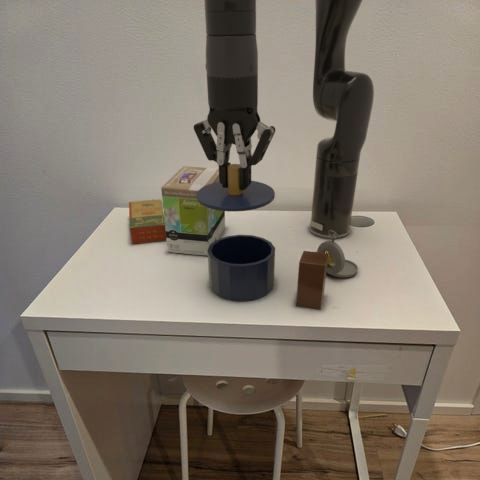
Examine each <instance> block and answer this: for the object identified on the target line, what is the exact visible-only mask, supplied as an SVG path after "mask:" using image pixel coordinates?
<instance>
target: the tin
mask: <svg viewBox="0 0 480 480" xmlns="http://www.w3.org/2000/svg"><path fill="white" fill-rule="evenodd" d="M207 252H208V256H207V265H208V266H207V267H208V279H209V285H210V290H211V291H212V293H214V294H215V295H216V296H217V297H219V298H221V299H224V300H227V301H233V302H251V301H255V300H256V301H257V300H259V299H261V298H263V297H266V296H267V295H268V294H270V293H271V292H272V291H273V289H274V286H275V285H274V284H275V268H276V247H275V245H274V244H273V243H272V242H271V241H270V240H268V239H266V238H264V237H261V236H256V235H253V234H252V235H251V234H234V235H228V236H227V235H226V236H224V237H221V238H219V239H218V240H216V241H215V242H213V243H212V244H210V246H209V248H208V251H207Z"/></svg>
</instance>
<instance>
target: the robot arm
mask: <svg viewBox="0 0 480 480" xmlns="http://www.w3.org/2000/svg"><path fill="white" fill-rule="evenodd" d="M362 2H363V0H315V44H314V45H315V46H314V47H315V48H314V49H315V50H314V63H313V80H312V102H313V108H314V111H315V112H316V114H317V115H318V116H319V117H320V118H321V119H323V120H327V121H329V122H330V121H331V122H335V127H334V132H333V136H331V137H326V138H323V139H321V140H320V141H319V142H318V143H317V145H316V155H315V165H314V166H315V167H314V178H313V190H312V191H313V192H312V202H311V215H310V223H309V224H310V225H309V231H310V232H311V234H313V235H314V236H317V237H320V238H324V239H331V236H332V234H335V233H334V232H332V231H329V230H333V231H335V232H336V233H337V234H338V238H337V239H339V238H344V237H346V236H348V235H349V234H350V231H351V223H352V222H351V221H352V215H353V209H354V208H353V207H354V201H355V195H356V187H357V180H358V173H359V166H360V158H361V154H362V150H363V147H364V145H365V143H366V140H367V136H368V131H369V125H370V120H371V114H372V109H373V106H374V98H375V97H374V96H375V93H374V92H375V88H374V82H373V80H372V78H371V76H370V75H368V74H367V73H364V72H358V71H353V70H346V46H347V39H348V35H349V32H350V29H351V27H352V24H353V22H354V20H355V18H356V15H357V13H358V12H359V9H360V7H361V6H362ZM204 19H205V33H206V35H205V39H206V41H205V71H206V85H207V87H206V88H207V104H208V107H209V108H208V109H209V110H208V113H207V117H206V119H205V120H201V121H199V122H197V123H195V124H194V125H193V130H194V133H195V135H196V137H197V139H198V141H199V144H200V146H201V148H202V150H203V152H204V155H205V157H206V159H207V161H210V162H215V163H216V164H217V165H218V168H219V181H220V184H222V187H223V188H228V178H227V166H228V165H231V164H232V163H231V162H229V161H230V156H231V148H232V145H234V146H235V150H236V153H237V154H238V161H239V164H240V166H241V167H240V168H239V176H240V190H245V189H246V188H248V186H249V185H250V184H251V181H252V166H256V165H257V164H259V163H260V162H261V161H262V160H264V157H265V154H266V153H267V150H268V148H269V146H270V144H271V141H272V139H273V137H274V135H275V133H276V127H275V126H274V125H270V126H268V125H267V124H265V123H263V122H262V121H261V117H260V115H259V112H258V105H259V97H258V96H259V89H258V88H259V86H258V85H259V62H258V61H259V50H258V42H257V0H204ZM212 131H213V133H214V134H215V136H216V141H215V138H214V136H213V134H212ZM256 131H257V134H256V135H257V139H258V142H257V144H256V147H255V148H254V151H253V153H252V148H253V145H252V136H253V135H254V133H255V132H256ZM328 231H329V233H330V235H331V236H330V235H329V234H328ZM335 236H336V237H337V235H336V234H335Z"/></svg>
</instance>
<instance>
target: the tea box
mask: <svg viewBox="0 0 480 480" xmlns="http://www.w3.org/2000/svg"><path fill="white" fill-rule="evenodd" d="M215 182H219V167H204V166H203V167H201V166H182V167H181V168H180V169H179V170H178V171H177V172H175V174H174V175H173V176H171V178H170V179H168V180H167V181H166V182H165V183H164V184H163V185H162V186H161V188H160V189H161V198H162V199H161V201H162V209H163V214H164V221H165V230H166V240H165V241H166V248H167V252H168V253H175V254H182V255H183V254H184V255H194V256H195V255H196V256H207V257H208V252H207V251H208V248H209V246H210V244H212V243H213V242H215V241H216V240H218V239H220V237H221V235H222V234H223V232H224V230H225V228H226V211H219V210H214V209H210V208H207V207H205V206H203V205H201V204H200V203H199V202H198V201H197V192H198V191H199V190H200V189H201V188H202V187H204V186H206V185H208V184H211V183H215Z"/></svg>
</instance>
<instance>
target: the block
mask: <svg viewBox="0 0 480 480" xmlns="http://www.w3.org/2000/svg"><path fill="white" fill-rule="evenodd" d="M328 255H329V254H328V253H326V252H325V253H320V252H317V251H310V250H303V251H302V254H301V257H300V259H299V263H298V275H297V287H296V301H295V306H296V307H299V308H300V307H301V308H305V309H314V310H321V309H322V305H323V301H324V296H325V288H326V280H327V263H328Z"/></svg>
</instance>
